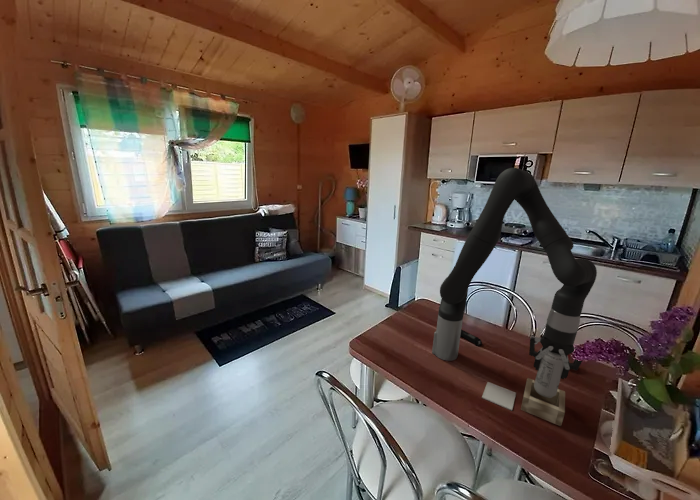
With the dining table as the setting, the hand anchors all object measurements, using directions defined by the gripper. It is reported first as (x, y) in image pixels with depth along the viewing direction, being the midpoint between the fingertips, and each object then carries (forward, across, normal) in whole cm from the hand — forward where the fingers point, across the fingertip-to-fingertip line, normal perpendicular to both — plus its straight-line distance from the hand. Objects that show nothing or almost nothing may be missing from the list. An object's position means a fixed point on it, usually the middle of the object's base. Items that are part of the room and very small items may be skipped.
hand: (549, 372), depth 93 cm
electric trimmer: (+14, +31, -26) cm, 43 cm away
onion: (+13, -4, -30) cm, 33 cm away
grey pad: (+13, +12, +3) cm, 18 cm away
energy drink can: (+7, 0, 0) cm, 7 cm away
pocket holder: (+13, 0, 0) cm, 13 cm away
